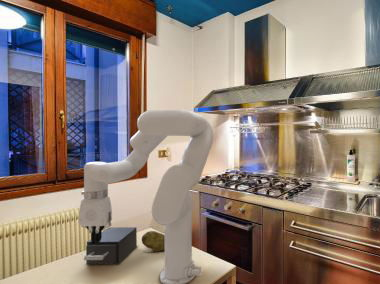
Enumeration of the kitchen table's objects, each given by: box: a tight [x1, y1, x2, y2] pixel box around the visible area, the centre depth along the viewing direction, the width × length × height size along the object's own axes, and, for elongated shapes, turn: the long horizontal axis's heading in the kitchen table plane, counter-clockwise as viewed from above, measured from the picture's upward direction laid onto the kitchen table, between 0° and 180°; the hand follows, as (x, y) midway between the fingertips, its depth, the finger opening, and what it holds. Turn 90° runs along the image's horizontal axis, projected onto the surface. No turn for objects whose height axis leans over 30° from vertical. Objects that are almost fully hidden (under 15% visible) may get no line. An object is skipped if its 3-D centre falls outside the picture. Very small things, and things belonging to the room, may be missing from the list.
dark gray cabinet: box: [86, 226, 138, 265], centre depth 97 cm, size 15×13×9 cm
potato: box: [141, 230, 165, 252], centre depth 102 cm, size 8×13×8 cm, turn 81°
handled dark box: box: [83, 244, 117, 265], centre depth 93 cm, size 18×11×7 cm, turn 1°
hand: (96, 242), depth 87 cm, fingers closed
